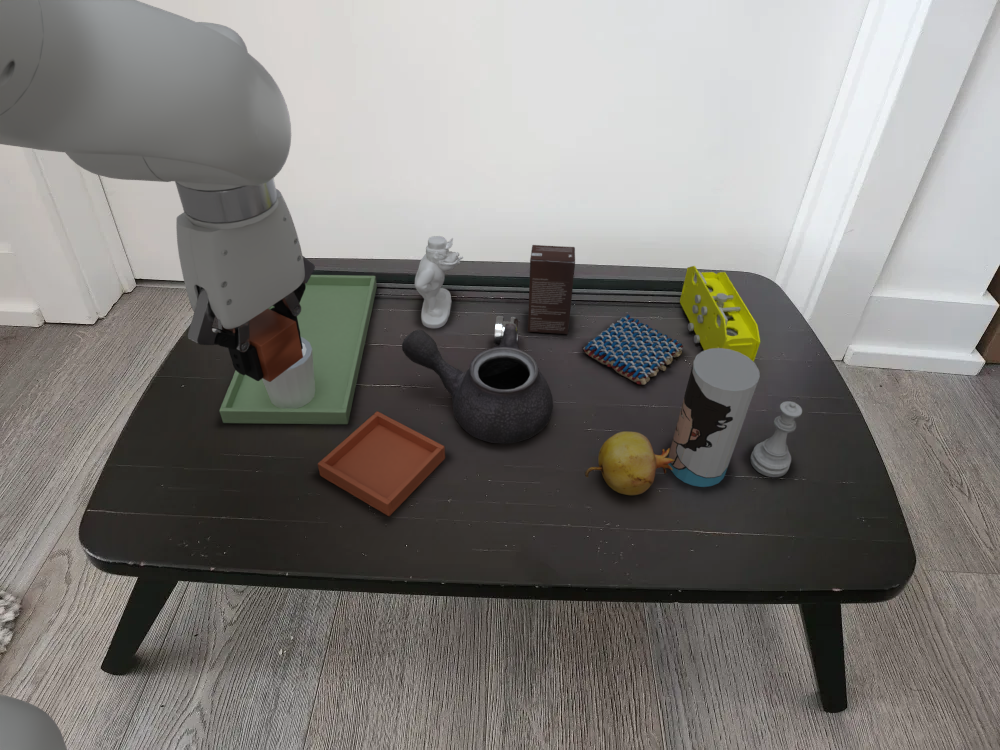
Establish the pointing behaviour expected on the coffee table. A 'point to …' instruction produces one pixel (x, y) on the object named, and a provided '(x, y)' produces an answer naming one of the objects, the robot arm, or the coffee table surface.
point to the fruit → (629, 463)
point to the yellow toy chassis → (718, 313)
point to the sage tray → (316, 355)
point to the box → (550, 288)
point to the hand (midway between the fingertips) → (270, 358)
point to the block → (274, 342)
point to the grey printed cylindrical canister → (712, 415)
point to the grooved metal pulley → (502, 329)
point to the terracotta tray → (382, 462)
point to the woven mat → (633, 349)
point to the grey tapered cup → (294, 382)
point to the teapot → (491, 388)
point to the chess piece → (776, 444)
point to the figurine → (435, 281)
